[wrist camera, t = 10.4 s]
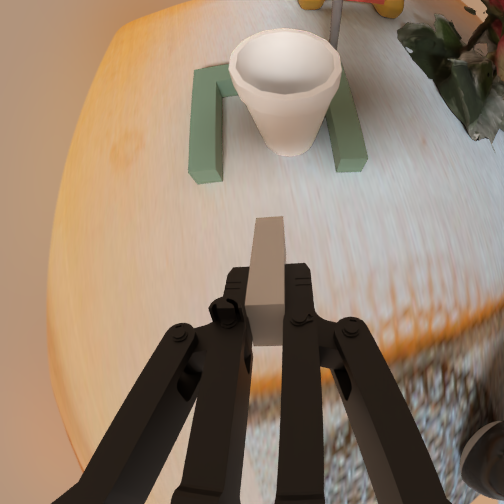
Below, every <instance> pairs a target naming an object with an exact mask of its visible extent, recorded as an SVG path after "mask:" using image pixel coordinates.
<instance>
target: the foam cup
mask: <svg viewBox="0 0 504 504" xmlns="http://www.w3.org/2000/svg"><path fill="white" fill-rule="evenodd" d="M228 70H229V73H230V76H231V79H232V82H233V86H234V88H235V89H236V91H237V93H238V95H239V97H240V99H241V101H242V102H244V103H245V104H246V106H247V108H248V110H249V112H250V114H251V116H252V118H253V120H254V122H255V124H256V126H257V128H258V130H259V132H260V134H261V136H262V138H263V140H264V142H265V144H266V145H267V147H268V148H269V149H270V150H272V151H273V152H274V153H276V154H278V155H282V156H287V157H291V156H297V155H301V154H303V153H304V152H306V151H307V150H309V149H310V148H311V146H312V144H313V142H314V141H315V138H316V136H317V134H318V132H319V129H320V127H321V124H322V122H323V119H324V117H325V115H326V112H327V110H328V107H329V105H330V102H331V100H332V98H333V97H334V95H335V93H336V92H337V90H338V88H339V84H340V79H341V73H342V68H341V61H340V55H339V53H338V52H337V51H336V50H335V49H334V48H333V46H332V45H331V44H330V43H329V42H328V41H327V40H325V39H323V38H321V37H319V36H317V35H315V34H313V33H311V32H308V31H303V30H297V29H290V28H280V29H273V30H266V31H261V32H259V33H257V34H255V35H253V36H250V37H248V38H246V39H244V40H243V41H242V42H241V43H240V44H239V45H238V46H237V47H236V48H235V49H234V51H233V52H232V53H231V57H230V62H229V68H228Z"/></svg>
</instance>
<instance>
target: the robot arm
mask: <svg viewBox="0 0 504 504" xmlns="http://www.w3.org/2000/svg"><path fill="white" fill-rule="evenodd" d="M208 309H209V312H210V315H211V318H212V320H213V322H211V323H210V324H208V325H205V326H201V327H197V328H193V327H192V326H191V325H190V324H187V323H179V324H175V325H174V326H172V327H170V328H169V330H168V331H167V332H166V333H165V335H164V337H163V338H162V340H161V341H160V343H159V345H158V346H157V348H156V350H155V351H154V353H153V354H152V356H151V358H150V359H149V361H148V363H147V364H146V366H145V368H144V369H143V371H142V372H141V374H140V376H139V377H138V379H137V381H136V382H135V384H134V386H133V387H132V389H131V391H130V392H129V394H128V396H127V397H126V399H125V401H124V403H123V404H122V406H121V408H120V409H119V411H118V413H117V414H116V416H115V418H114V420H113V421H112V423H111V425H110V426H109V428H108V430H107V432H106V433H105V435H104V437H103V439H102V440H101V442H100V444H99V446H98V447H97V449H96V451H95V453H94V455H93V456H92V458H91V460H90V462H89V464H88V465H87V467H86V469H85V471H84V473H83V474H82V476H81V478H80V480H79V482H78V483H76V484H75V485H74V486H73V487H71V488H70V489H69V490H68V491H67V492H65V493H64V494H63V495H61V496H60V497H59V498H58V499H56V500H55V501H54V502H52V503H51V504H144V503H145V501H146V500H147V498H148V496H149V494H150V492H151V490H152V488H153V486H154V484H155V482H156V480H157V478H158V476H159V474H160V472H161V470H162V468H163V466H164V464H165V462H166V460H167V458H168V456H169V454H170V452H171V450H172V447H173V445H174V443H175V441H176V439H177V437H178V435H179V433H180V431H181V429H182V427H183V425H184V423H185V421H186V419H187V417H188V415H189V413H190V411H191V409H192V407H193V404H194V402H195V400H196V398H197V401H196V407H195V412H194V417H193V422H192V427H191V432H190V438H189V443H188V448H187V454H186V459H185V465H184V470H183V476H182V481H181V484H180V486H179V487H178V488H177V489H176V490H175V491H174V493H173V495H172V499H171V504H241V503H240V487H241V477H242V468H243V458H244V448H245V438H246V427H247V417H248V406H249V396H250V385H251V374H252V363H253V353H252V341H253V345H254V346H281V345H283V352H282V390H281V418H280V440H279V459H278V476H277V491H276V498H275V504H325V497H324V446H323V412H322V390H321V373H320V366H321V367H325V368H329V369H330V370H331V373H332V375H333V378H334V381H335V383H336V386H337V389H338V391H339V394H340V396H341V399H342V402H343V404H344V407H345V410H346V413H347V415H348V418H349V421H350V423H351V426H352V429H353V432H354V434H355V437H356V440H357V443H358V446H359V448H360V451H361V454H362V457H363V460H364V463H365V466H366V468H367V471H368V474H369V477H370V480H371V483H372V486H373V489H374V492H375V495H376V498H377V501H378V504H452V503H451V502H450V501H449V500H448V499H446V496H445V493H444V490H443V488H442V485H441V483H440V480H439V477H438V475H437V472H436V470H435V467H434V465H433V462H432V460H431V458H430V455H429V453H428V450H427V448H426V446H425V443H424V441H423V439H422V437H421V434H420V432H419V430H418V427H417V425H416V423H415V421H414V419H413V416H412V414H411V412H410V410H409V408H408V406H407V404H406V402H405V399H404V397H403V395H402V393H401V391H400V389H399V387H398V385H397V383H396V381H395V379H394V377H393V375H392V373H391V371H390V369H389V367H388V365H387V363H386V361H385V359H384V357H383V355H382V353H381V351H380V350H379V348H378V346H377V344H376V342H375V340H374V338H373V336H372V334H371V333H370V331H369V329H368V327H367V325H366V324H365V323H364V322H363V321H362V320H360V319H359V318H355V317H345V318H343V319H341V320H339V321H338V322H337V323H336V322H331V321H327V320H324V319H322V318H321V317H319V316H318V315H317V313H316V312H315V309H314V301H313V291H312V282H311V273H310V269H309V268H308V266H307V265H306V264H305V263H295V264H286V247H285V234H284V222H283V216H280V217H266V218H256V223H255V231H254V238H253V246H252V253H251V261H250V267H233V268H232V270H231V271H230V272H229V274H228V276H227V280H226V285H225V290H224V294H223V297H220V298H218V299H216V300H214V301H213V302H212V303H211V304H210V306H209V308H208Z"/></svg>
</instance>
